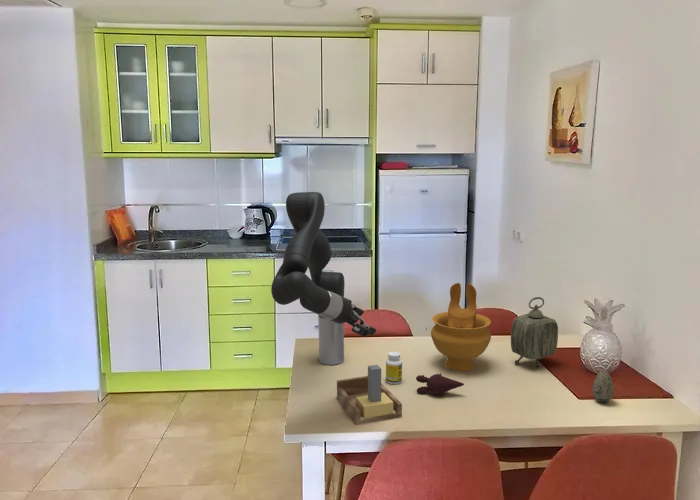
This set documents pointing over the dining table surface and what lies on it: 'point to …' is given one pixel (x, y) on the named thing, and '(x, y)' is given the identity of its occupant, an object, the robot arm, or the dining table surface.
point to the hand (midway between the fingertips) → (367, 322)
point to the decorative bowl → (461, 331)
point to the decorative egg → (603, 387)
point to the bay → (359, 387)
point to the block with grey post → (374, 396)
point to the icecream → (437, 384)
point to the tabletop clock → (534, 335)
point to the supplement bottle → (393, 368)
